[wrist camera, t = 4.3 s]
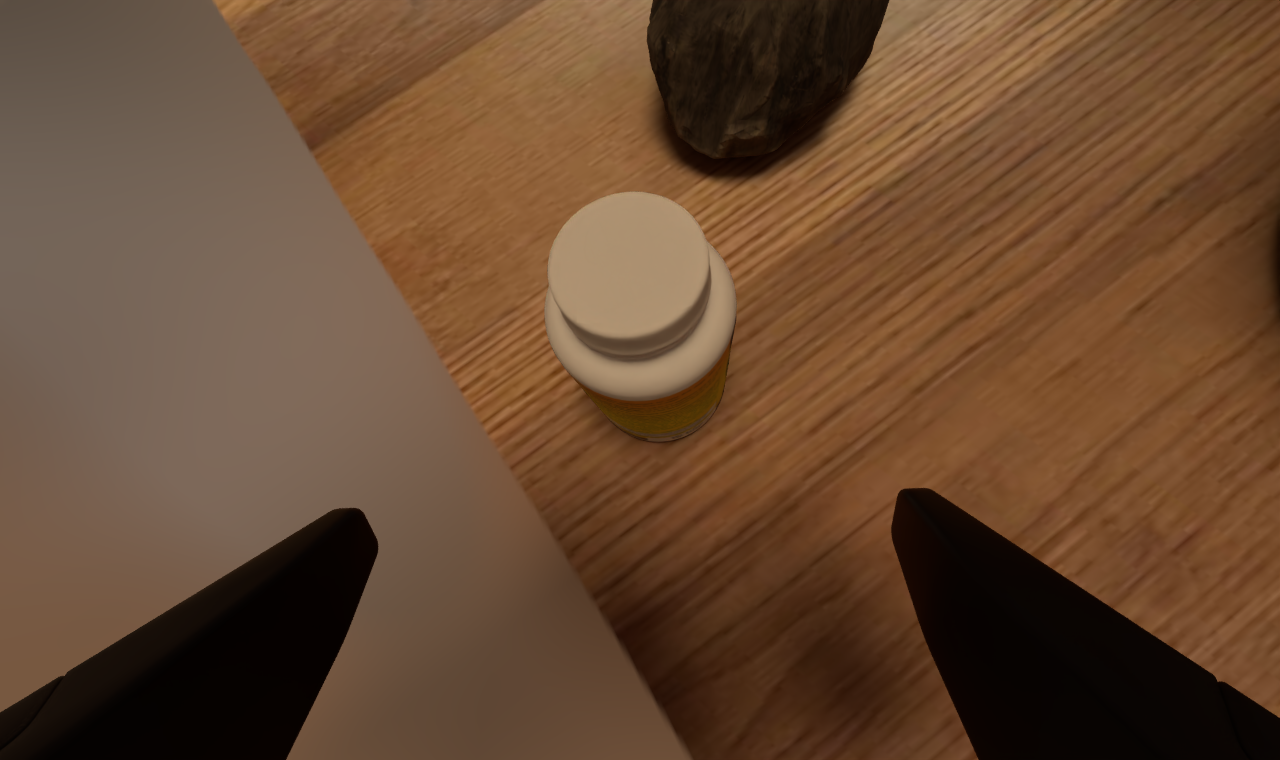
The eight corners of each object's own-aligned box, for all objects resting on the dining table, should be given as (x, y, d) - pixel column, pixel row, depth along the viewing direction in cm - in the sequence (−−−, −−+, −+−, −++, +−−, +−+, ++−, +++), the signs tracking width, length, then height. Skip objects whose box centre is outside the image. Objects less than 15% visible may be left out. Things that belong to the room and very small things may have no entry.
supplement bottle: (747, 412, 21) (789, 312, 11) (624, 464, 21) (556, 411, 11) (692, 302, 22) (686, 129, 12) (580, 350, 22) (485, 215, 12)
